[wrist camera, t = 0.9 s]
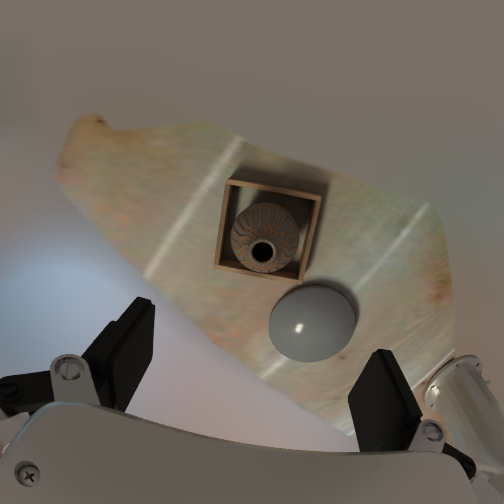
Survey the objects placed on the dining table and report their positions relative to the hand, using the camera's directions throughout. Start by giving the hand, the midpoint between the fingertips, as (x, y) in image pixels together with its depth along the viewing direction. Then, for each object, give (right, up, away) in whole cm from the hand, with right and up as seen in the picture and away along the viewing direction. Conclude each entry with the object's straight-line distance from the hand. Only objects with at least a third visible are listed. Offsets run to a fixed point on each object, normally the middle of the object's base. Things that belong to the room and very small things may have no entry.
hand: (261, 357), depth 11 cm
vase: (+1, +7, +22) cm, 23 cm away
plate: (+7, -5, +25) cm, 26 cm away
